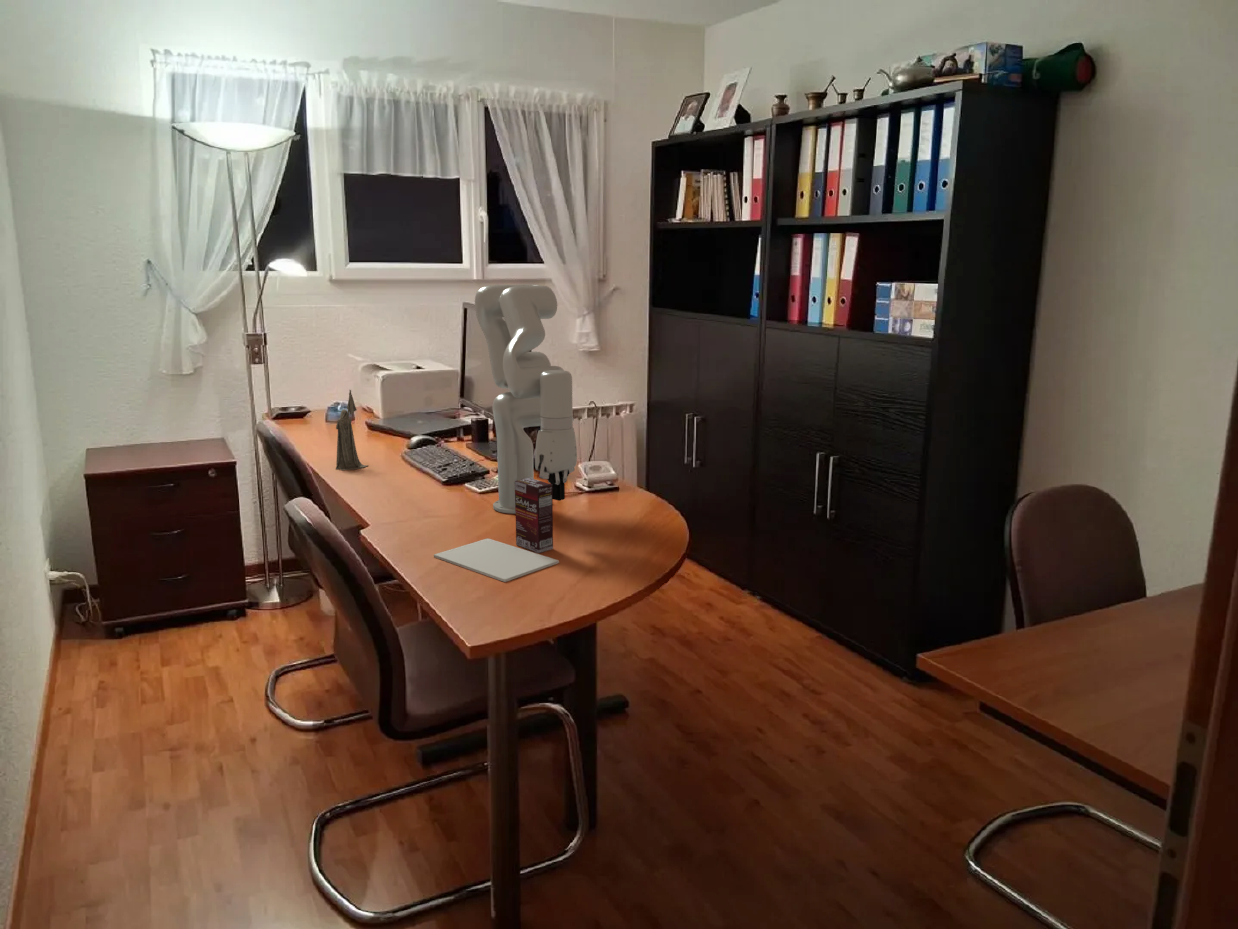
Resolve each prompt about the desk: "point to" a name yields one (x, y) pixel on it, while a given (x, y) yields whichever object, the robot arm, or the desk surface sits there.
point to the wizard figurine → (347, 440)
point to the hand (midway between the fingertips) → (557, 498)
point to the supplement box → (534, 515)
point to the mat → (496, 559)
